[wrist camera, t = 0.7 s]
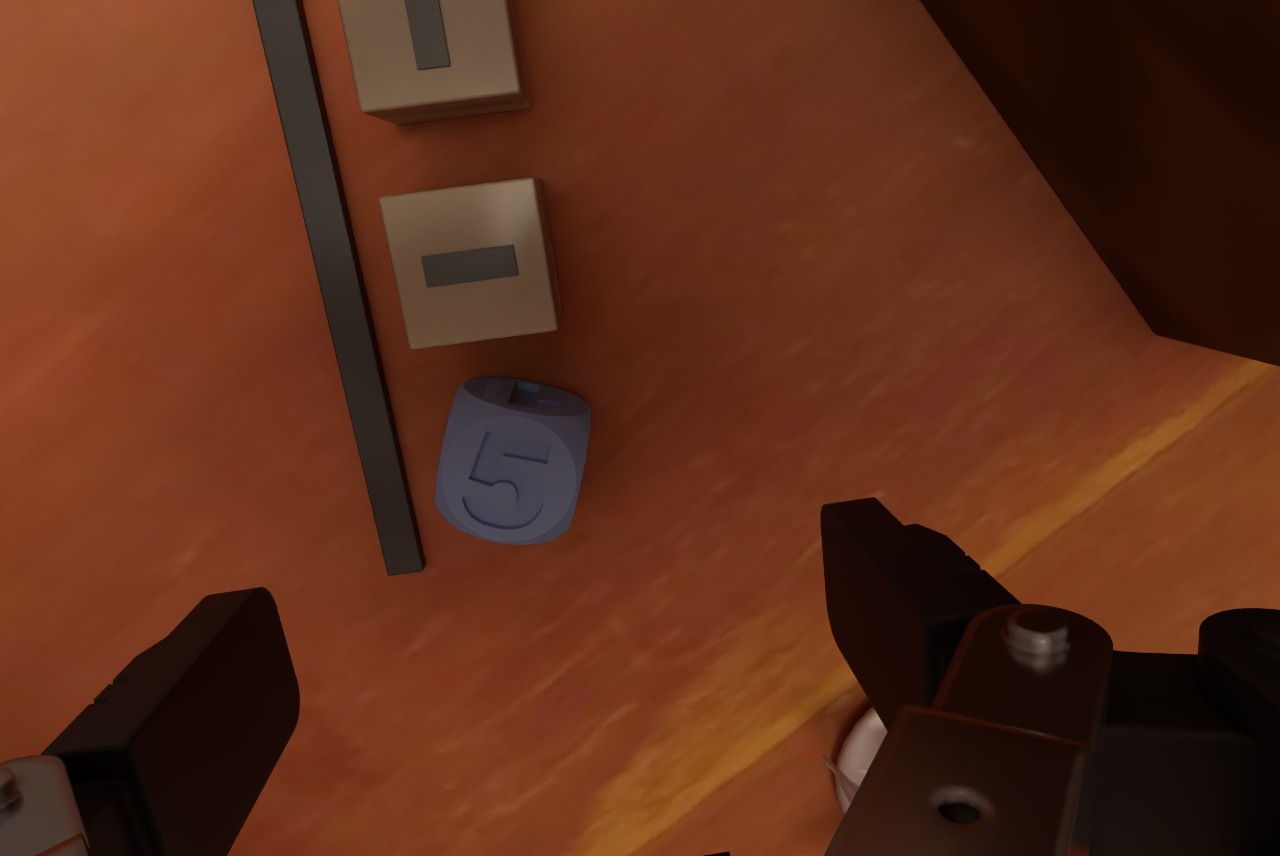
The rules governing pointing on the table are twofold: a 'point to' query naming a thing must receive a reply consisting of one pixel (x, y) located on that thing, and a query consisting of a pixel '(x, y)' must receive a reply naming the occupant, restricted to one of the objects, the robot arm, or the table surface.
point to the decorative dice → (512, 460)
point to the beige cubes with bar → (414, 208)
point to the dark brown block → (1151, 145)
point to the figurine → (857, 756)
